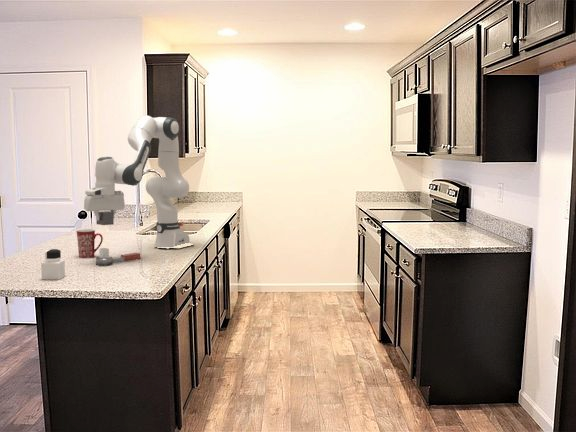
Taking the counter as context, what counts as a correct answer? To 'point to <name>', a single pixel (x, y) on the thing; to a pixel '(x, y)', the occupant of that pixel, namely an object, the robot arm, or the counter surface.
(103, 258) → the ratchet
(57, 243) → the counter surface
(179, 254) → the counter surface
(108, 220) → the matte grey cube
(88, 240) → the mug
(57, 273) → the medicine bottle
